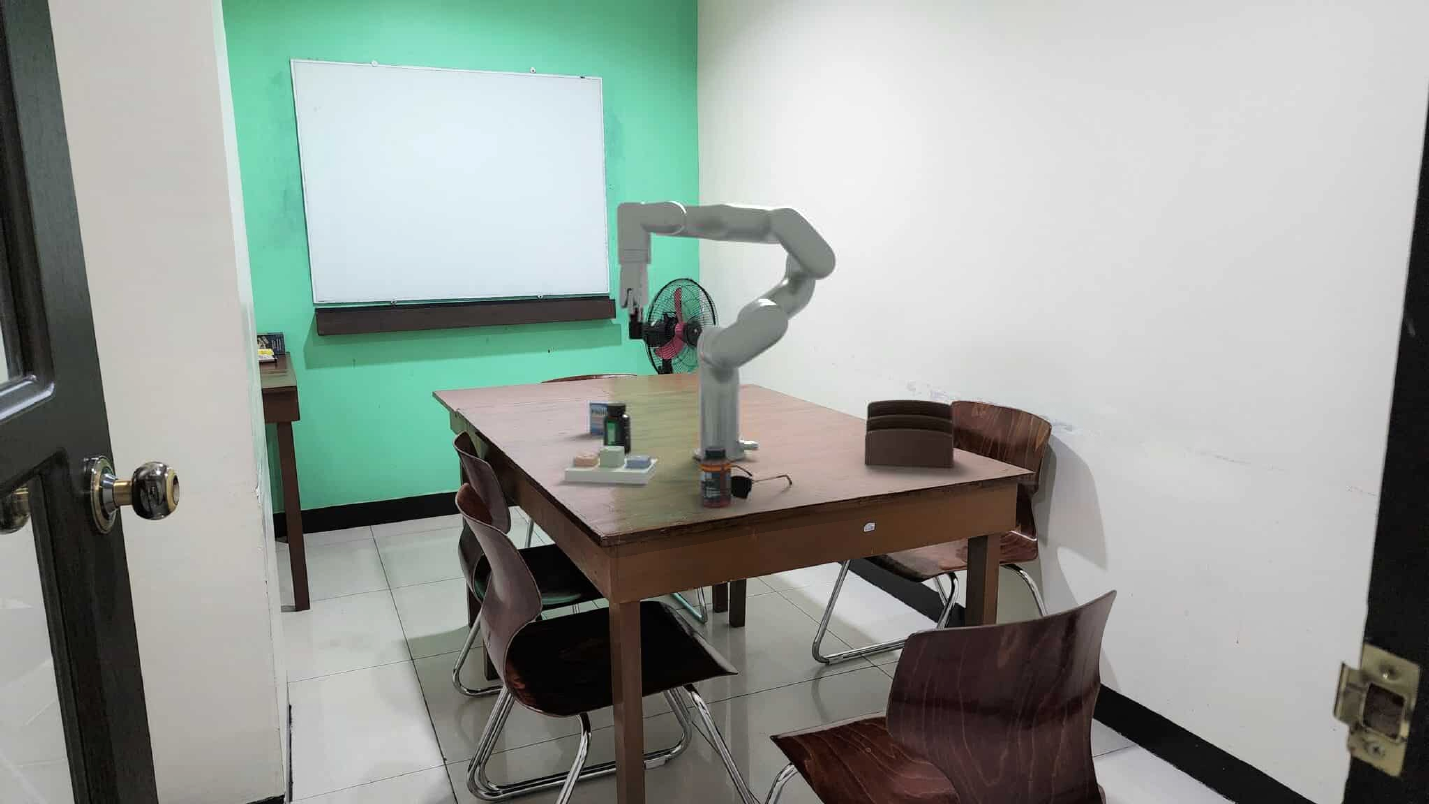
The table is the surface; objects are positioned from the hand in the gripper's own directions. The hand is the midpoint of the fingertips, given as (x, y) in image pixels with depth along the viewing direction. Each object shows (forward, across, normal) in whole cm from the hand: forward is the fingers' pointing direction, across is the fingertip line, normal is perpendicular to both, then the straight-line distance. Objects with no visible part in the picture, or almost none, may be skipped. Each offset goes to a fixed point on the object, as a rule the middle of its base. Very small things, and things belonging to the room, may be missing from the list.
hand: (636, 338), depth 198 cm
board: (+29, +13, -3) cm, 32 cm away
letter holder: (+30, -8, +62) cm, 70 cm away
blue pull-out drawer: (+29, +13, +3) cm, 32 cm away
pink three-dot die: (+29, +13, -9) cm, 33 cm away
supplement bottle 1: (+29, -10, -8) cm, 32 cm away
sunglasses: (+30, +19, +28) cm, 45 cm away
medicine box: (+29, -32, -17) cm, 47 cm away
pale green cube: (+27, +13, -3) cm, 30 cm away
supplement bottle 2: (+29, +32, +23) cm, 49 cm away
